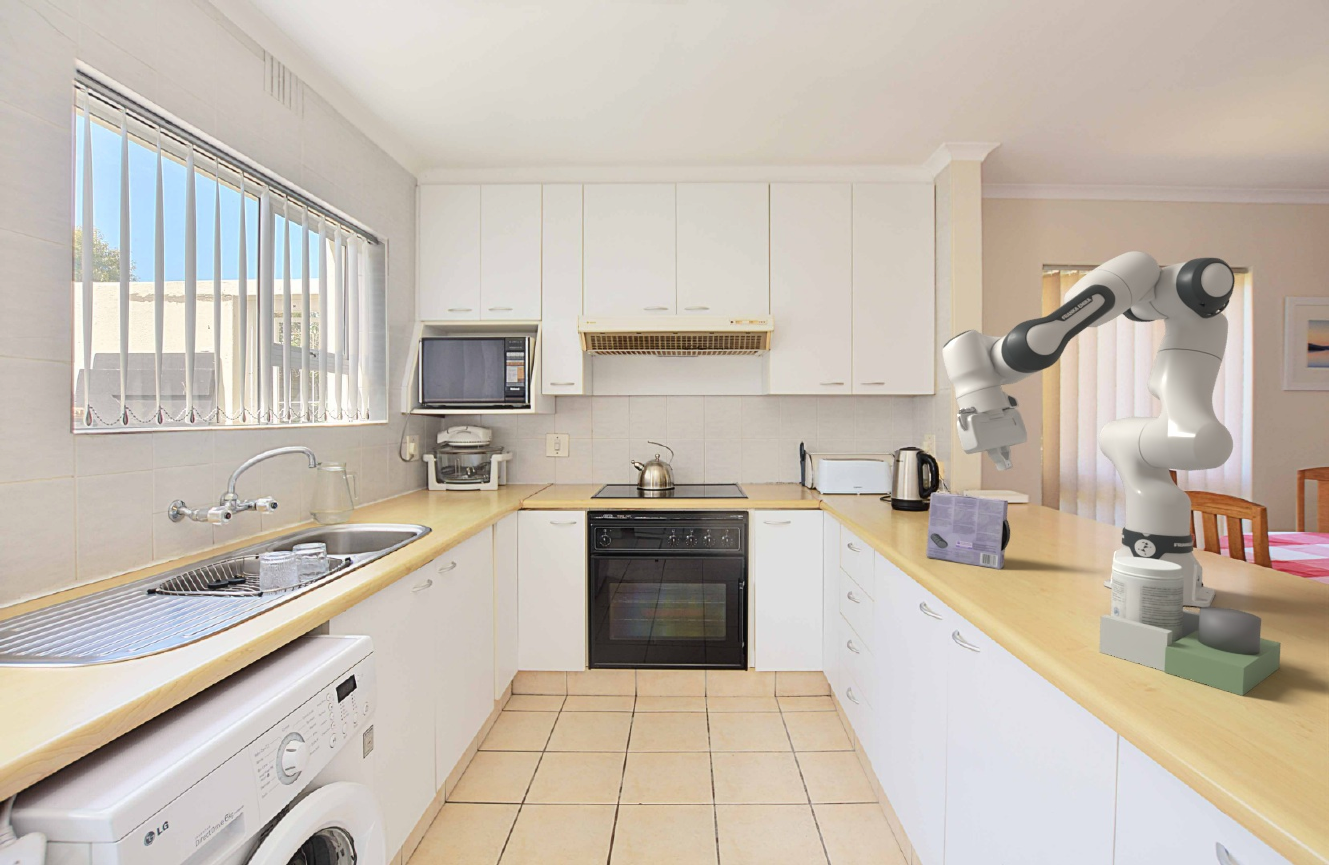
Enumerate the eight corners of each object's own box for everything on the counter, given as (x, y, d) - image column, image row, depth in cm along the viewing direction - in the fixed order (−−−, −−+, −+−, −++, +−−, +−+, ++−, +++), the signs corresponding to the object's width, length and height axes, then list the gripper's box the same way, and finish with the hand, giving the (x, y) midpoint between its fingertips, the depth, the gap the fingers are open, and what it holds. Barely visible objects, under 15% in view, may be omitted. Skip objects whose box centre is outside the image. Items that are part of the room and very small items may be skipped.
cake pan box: (1009, 567, 159) (1011, 498, 158) (1005, 570, 155) (1008, 500, 154) (931, 555, 171) (933, 491, 170) (925, 558, 167) (927, 493, 166)
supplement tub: (1189, 651, 103) (1193, 564, 103) (1170, 665, 98) (1175, 573, 97) (1120, 634, 111) (1124, 553, 111) (1099, 645, 106) (1103, 560, 105)
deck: (1142, 632, 112) (1144, 583, 112) (1279, 667, 97) (1282, 611, 97) (1097, 652, 102) (1100, 599, 102) (1242, 695, 87) (1245, 633, 87)
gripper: (970, 404, 121) (994, 471, 119) (1021, 398, 133) (1044, 460, 130) (941, 414, 126) (964, 479, 124) (993, 408, 138) (1014, 467, 135)
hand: (1005, 469), depth 127 cm, fingers closed
